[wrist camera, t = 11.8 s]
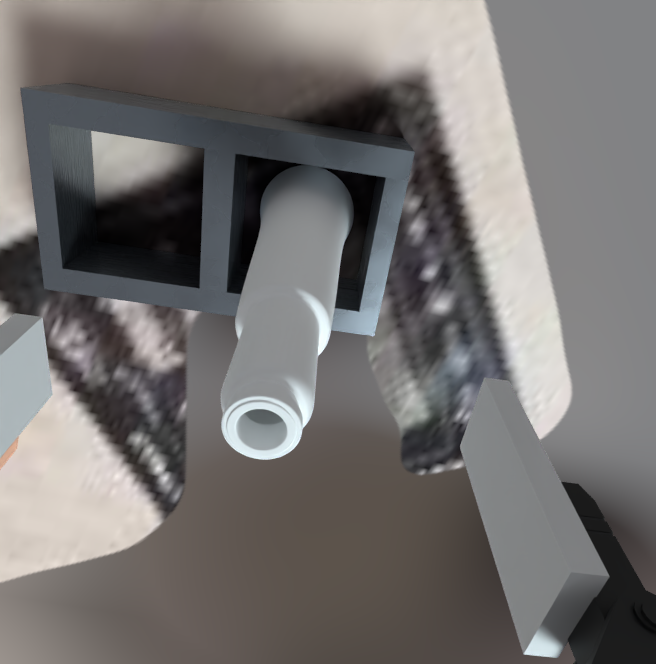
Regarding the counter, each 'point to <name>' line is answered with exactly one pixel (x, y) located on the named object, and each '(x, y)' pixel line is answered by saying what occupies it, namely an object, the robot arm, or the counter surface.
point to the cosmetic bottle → (285, 311)
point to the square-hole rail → (218, 197)
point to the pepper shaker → (8, 453)
